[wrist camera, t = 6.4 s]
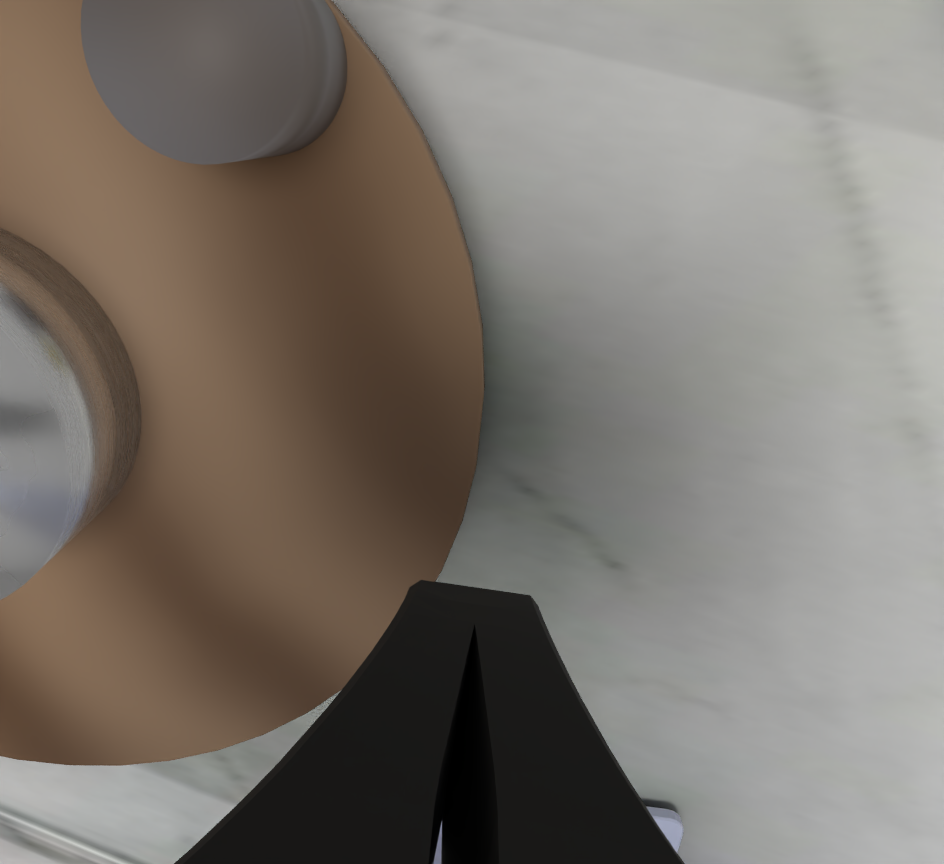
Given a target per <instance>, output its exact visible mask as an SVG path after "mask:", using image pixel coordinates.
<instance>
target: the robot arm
mask: <svg viewBox="0 0 944 864" xmlns="http://www.w3.org/2000/svg"><path fill="white" fill-rule="evenodd" d="M682 836H683V824H682V820H681V818H680V816H679V814H677V813H676V812H675V811H672V810H669V809H663V808H655V807H647V806H645V805H644V803H643V802H642V800H641V798H640V797H639V795H638V794H637V792H636V791H635V789H634V788H633V786H632V784H631V783H630V781H629V780H628V778H627V777H626V775H625V773H624V772H623V770H622V768H621V767H620V765H619V763H618V762H617V760H616V758H615V757H614V755H613V753H612V752H611V750H610V749H609V747H608V745H607V743H606V741H605V740H604V738H603V736H602V734H601V733H600V731H599V729H598V727H597V725H596V724H595V722H594V720H593V718H592V717H591V715H590V713H589V711H588V709H587V708H586V706H585V704H584V702H583V701H582V699H581V697H580V695H579V693H578V691H577V689H576V687H575V685H574V683H573V682H572V680H571V678H570V676H569V674H568V672H567V670H566V668H565V665H564V663H563V661H562V659H561V657H560V655H559V653H558V651H557V649H556V647H555V645H554V643H553V640H552V638H551V636H550V634H549V631H548V629H547V627H546V624H545V622H544V620H543V617H542V615H541V612H540V610H539V607H538V605H537V604H536V603H535V601H534V600H533V598H532V597H531V596H530V595H524V594H517V593H510V592H503V591H496V590H489V589H482V588H475V587H468V586H461V585H454V584H447V583H440V582H433V581H426V580H420V581H418V582H417V583H415V584H414V585H412V586H411V587H409V590H408V592H407V594H406V597H405V599H404V601H403V602H402V604H401V606H400V608H399V610H398V612H397V613H396V615H395V617H394V618H393V620H392V621H391V623H390V625H389V626H388V628H387V629H386V631H385V632H384V634H383V635H382V637H381V638H380V639H379V641H378V642H377V644H376V645H375V647H374V648H373V650H372V651H371V652H370V654H369V655H368V656H367V658H366V659H365V660H364V662H363V663H362V664H361V666H360V667H359V668H358V669H357V671H356V672H355V673H354V675H353V676H352V677H351V679H350V680H349V681H348V682H347V684H346V685H345V686H344V688H343V689H342V690H341V692H340V693H339V694H338V695H337V697H336V698H335V699H334V700H333V702H332V703H331V704H330V705H329V706H328V708H327V709H326V710H325V711H324V712H323V713H322V714H321V716H320V717H319V718H318V719H317V720H316V721H315V722H314V723H313V725H312V726H311V727H310V728H309V729H308V730H307V731H306V732H305V734H304V735H303V736H302V737H301V738H300V739H299V740H298V741H297V743H296V744H295V745H294V746H293V747H292V748H291V749H290V751H289V752H288V753H287V754H286V755H285V756H284V757H283V758H282V760H281V761H280V762H279V763H278V764H277V765H276V766H275V767H274V768H273V769H272V770H271V771H270V772H269V773H268V774H267V775H266V776H265V777H264V778H263V779H262V780H261V781H260V783H259V784H258V785H257V786H256V787H255V788H254V789H253V790H252V791H251V792H250V793H249V794H248V795H247V796H246V797H245V798H244V799H243V800H242V801H241V802H240V803H239V804H238V805H237V806H236V807H235V808H234V809H233V810H232V811H230V812H229V813H228V814H227V815H226V816H225V817H224V818H223V819H222V820H221V821H220V822H219V823H218V824H217V825H216V826H215V827H214V828H213V829H212V830H210V831H209V832H208V833H207V834H206V835H205V836H204V837H203V838H202V839H201V840H200V841H199V842H198V843H197V844H196V845H195V846H193V847H192V848H191V849H190V850H189V851H188V852H187V853H186V854H185V855H183V856H182V857H181V858H180V859H179V860H178V861H177V862H175V863H174V864H684V862H683V861H682V859H681V858H680V857H679V855H678V854H677V853H678V850H679V846H680V843H681V840H682Z"/></svg>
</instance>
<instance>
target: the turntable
mask: <svg viewBox="0 0 944 864" xmlns="http://www.w3.org/2000/svg"><path fill="white" fill-rule="evenodd" d="M0 228H2V229H4V230H6V231H9V232H11V233H13V234H15V235H18V236H19V237H21V238H23V239H24V240H26V241H28V242H29V243H31V244H33V245H34V246H36V247H38V248H40V249H41V250H42V251H44V252H45V253H46V254H48V255H49V256H50V257H52V258H53V259H54V260H56V261H57V262H58V263H60V264H61V265H62V266H63V267H65V268H66V269H67V270H68V271H69V272H70V273H71V274H72V275H73V276H74V277H75V278H76V279H77V280H79V281H80V282H81V283H82V284H83V286H84V287H85V288H86V289H87V290H88V291H89V293H90V294H91V295H92V296H93V297H94V298H95V299H96V301H97V302H98V303H99V304H100V306H101V307H102V309H103V310H104V312H105V313H106V314H107V316H108V317H109V319H110V320H111V322H112V323H113V325H114V327H115V329H116V330H117V332H118V334H119V336H120V338H121V340H122V342H123V343H124V345H125V348H126V350H127V353H128V355H129V358H130V360H131V363H132V366H133V368H134V372H135V376H136V380H137V384H138V388H139V394H140V402H141V410H142V415H141V436H140V442H139V448H138V453H137V456H136V459H135V462H134V465H133V468H132V470H131V472H130V474H129V476H128V478H127V480H126V482H125V484H124V486H123V487H122V489H121V490H120V491H119V493H118V494H117V495H116V497H115V498H114V499H113V501H112V502H110V503H109V504H108V505H107V506H106V507H105V508H104V509H103V510H102V511H101V512H100V513H99V514H98V515H97V516H96V517H95V518H94V519H93V520H92V521H91V522H90V523H89V524H88V525H87V526H85V527H84V528H83V529H82V530H81V531H80V532H79V533H78V534H77V535H76V536H75V537H74V538H73V539H72V540H71V541H70V542H69V543H68V544H66V545H65V546H64V547H63V548H62V549H61V550H60V551H59V552H58V553H57V554H56V555H55V556H54V557H53V558H52V559H51V560H50V561H49V562H48V563H46V564H45V565H44V566H43V567H42V568H41V569H40V570H39V571H38V572H37V573H36V574H35V575H34V576H33V577H32V578H31V579H30V580H29V581H27V582H26V583H25V584H24V585H23V586H22V587H20V588H19V589H17V590H16V591H14V592H13V593H11V594H10V595H9V596H7V597H5V598H3V599H1V600H0V756H3V757H8V758H13V759H18V760H27V761H36V762H45V763H55V764H64V765H130V764H140V763H151V762H161V761H170V760H175V759H180V758H184V757H189V756H194V755H198V754H203V753H207V752H212V751H217V750H220V749H223V748H226V747H229V746H232V745H235V744H237V743H240V742H243V741H246V740H249V739H252V738H255V737H258V736H261V735H264V734H266V733H268V732H270V731H272V730H274V729H276V728H278V727H280V726H282V725H284V724H286V723H288V722H290V721H292V720H294V719H296V718H298V717H300V716H302V715H304V714H306V713H308V712H309V711H311V710H312V709H314V708H315V707H317V706H318V705H320V704H321V703H323V702H324V701H325V700H327V699H328V698H330V697H331V696H333V695H334V694H336V693H337V692H339V691H340V690H342V689H343V688H344V686H345V685H346V684H347V682H348V681H349V680H350V679H351V677H352V676H353V675H354V673H355V672H356V671H357V669H358V668H359V667H360V666H361V664H362V663H363V662H364V660H365V659H366V658H367V656H368V655H369V654H370V652H371V651H372V650H373V648H374V647H375V645H376V644H377V642H378V641H379V639H380V638H381V637H382V635H383V634H384V632H385V631H386V629H387V628H388V626H389V625H390V623H391V621H392V620H393V618H394V617H395V615H396V613H397V612H398V610H399V608H400V606H401V604H402V602H403V601H404V599H405V597H406V594H407V592H408V590H409V587H411V586H412V585H414V584H415V583H417V582H418V581H420V580H426V581H433V582H435V581H436V579H437V577H438V576H439V574H440V573H441V571H442V569H443V566H444V564H445V561H446V559H447V557H448V554H449V552H450V549H451V547H452V545H453V542H454V540H455V537H456V535H457V533H458V530H459V528H460V525H461V523H462V521H463V517H464V513H465V509H466V505H467V501H468V497H469V493H470V489H471V485H472V481H473V477H474V473H475V469H476V465H477V455H478V446H479V436H480V427H481V417H482V408H483V398H484V388H485V381H484V351H483V325H482V319H481V313H480V307H479V301H478V295H477V289H476V283H475V277H474V271H473V265H472V260H471V257H470V254H469V251H468V247H467V244H466V241H465V237H464V234H463V231H462V228H461V224H460V221H459V218H458V214H457V211H456V208H455V205H454V201H453V198H452V195H451V193H450V191H449V189H448V186H447V184H446V182H445V180H444V177H443V175H442V173H441V171H440V169H439V166H438V164H437V162H436V160H435V157H434V155H433V153H432V151H431V148H430V146H429V144H428V142H427V140H426V137H425V135H424V133H423V131H422V129H421V127H420V126H419V124H418V122H417V121H416V119H415V117H414V116H413V114H412V112H411V111H410V109H409V107H408V106H407V104H406V103H405V101H404V99H403V98H402V96H401V94H400V93H399V91H398V89H397V88H396V86H395V84H394V83H393V81H392V79H391V78H390V76H389V74H388V73H387V71H386V69H385V68H384V66H383V65H382V64H381V62H380V61H379V60H378V58H377V57H376V56H375V55H374V53H373V52H372V51H371V50H370V48H369V47H368V46H367V44H366V43H365V42H364V41H363V39H362V38H361V37H360V36H359V34H358V33H357V32H356V30H355V29H354V28H353V27H352V25H351V24H350V23H349V22H348V20H347V19H346V18H345V16H344V15H343V14H342V13H341V11H340V10H339V9H338V8H337V6H336V5H335V4H334V3H333V2H332V1H331V0H0Z"/></svg>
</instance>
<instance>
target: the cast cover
mask: <svg viewBox="0 0 944 864" xmlns="http://www.w3.org/2000/svg"><path fill="white" fill-rule="evenodd" d="M141 415H142V410H141V402H140V394H139V388H138V384H137V380H136V376H135V372H134V368H133V366H132V363H131V360H130V358H129V355H128V353H127V350H126V348H125V345H124V343H123V342H122V340H121V338H120V336H119V334H118V332H117V330H116V329H115V327H114V325H113V323H112V322H111V320H110V319H109V317H108V316H107V314H106V313H105V312H104V310H103V309H102V307H101V306H100V304H99V303H98V302H97V301H96V299H95V298H94V297H93V296H92V295H91V294H90V293H89V291H88V290H87V289H86V288H85V287H84V286H83V284H82V283H81V282H80V281H79V280H77V279H76V278H75V277H74V276H73V275H72V274H71V273H70V272H69V271H68V270H67V269H66V268H65V267H63V266H62V265H61V264H60V263H58V262H57V261H56V260H54V259H53V258H52V257H50V256H49V255H48V254H46V253H45V252H44V251H42V250H41V249H40V248H38V247H36V246H34V245H33V244H31V243H29V242H28V241H26V240H24V239H23V238H21V237H19V236H18V235H15V234H13V233H11V232H9V231H6V230H4V229H2V228H0V600H1V599H3V598H5V597H7V596H9V595H10V594H11V593H13V592H14V591H16V590H17V589H19V588H20V587H22V586H23V585H24V584H25V583H26V582H27V581H29V580H30V579H31V578H32V577H33V576H34V575H35V574H36V573H37V572H38V571H39V570H40V569H41V568H42V567H43V566H44V565H45V564H46V563H48V562H49V561H50V560H51V559H52V558H53V557H54V556H55V555H56V554H57V553H58V552H59V551H60V550H61V549H62V548H63V547H64V546H65V545H66V544H68V543H69V542H70V541H71V540H72V539H73V538H74V537H75V536H76V535H77V534H78V533H79V532H80V531H81V530H82V529H83V528H84V527H85V526H87V525H88V524H89V523H90V522H91V521H92V520H93V519H94V518H95V517H96V516H97V515H98V514H99V513H100V512H101V511H102V510H103V509H104V508H105V507H106V506H107V505H108V504H109V503H110V502H112V501H113V499H114V498H115V497H116V495H117V494H118V493H119V491H120V490H121V489H122V487H123V486H124V484H125V482H126V480H127V478H128V476H129V474H130V472H131V470H132V468H133V465H134V462H135V459H136V456H137V453H138V448H139V442H140V436H141Z"/></svg>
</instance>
